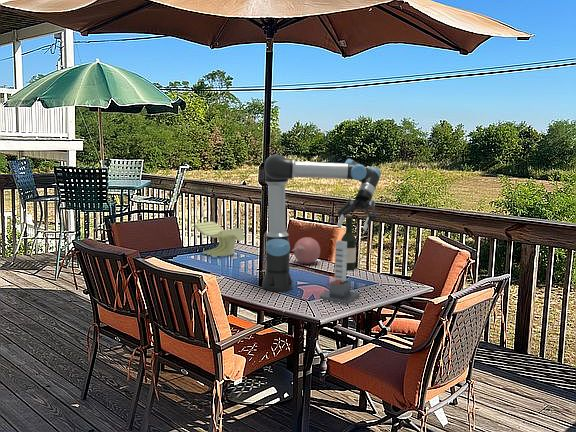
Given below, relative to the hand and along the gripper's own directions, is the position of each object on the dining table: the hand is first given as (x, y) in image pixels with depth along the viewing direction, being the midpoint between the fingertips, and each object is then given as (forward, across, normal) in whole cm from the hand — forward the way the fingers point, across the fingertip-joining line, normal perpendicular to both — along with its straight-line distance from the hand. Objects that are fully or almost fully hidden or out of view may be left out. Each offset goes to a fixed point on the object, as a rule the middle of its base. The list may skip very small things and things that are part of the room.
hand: (351, 228), depth 281 cm
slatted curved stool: (+2, -102, +43) cm, 111 cm away
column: (+27, +2, +7) cm, 28 cm away
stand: (+32, +2, +12) cm, 34 cm away
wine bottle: (-6, -20, +50) cm, 54 cm away
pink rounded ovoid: (-3, -45, +47) cm, 66 cm away
